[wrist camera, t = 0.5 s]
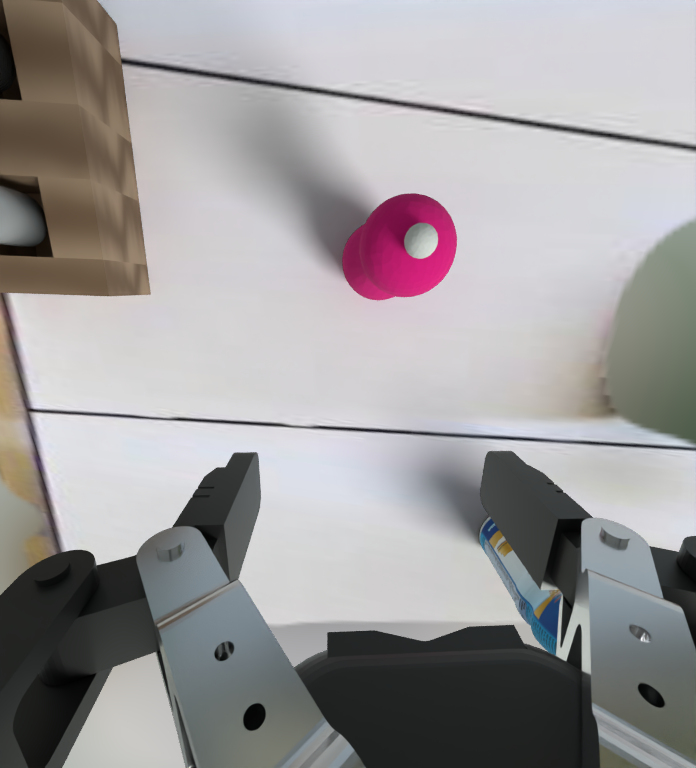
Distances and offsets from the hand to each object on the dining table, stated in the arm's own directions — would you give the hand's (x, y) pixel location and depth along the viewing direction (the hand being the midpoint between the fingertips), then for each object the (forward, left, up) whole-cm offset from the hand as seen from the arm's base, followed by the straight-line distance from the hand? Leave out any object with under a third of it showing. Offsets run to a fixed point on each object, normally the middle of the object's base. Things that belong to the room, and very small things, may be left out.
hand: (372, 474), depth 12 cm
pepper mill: (-9, +3, -28) cm, 30 cm away
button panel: (-16, -28, -28) cm, 43 cm away
